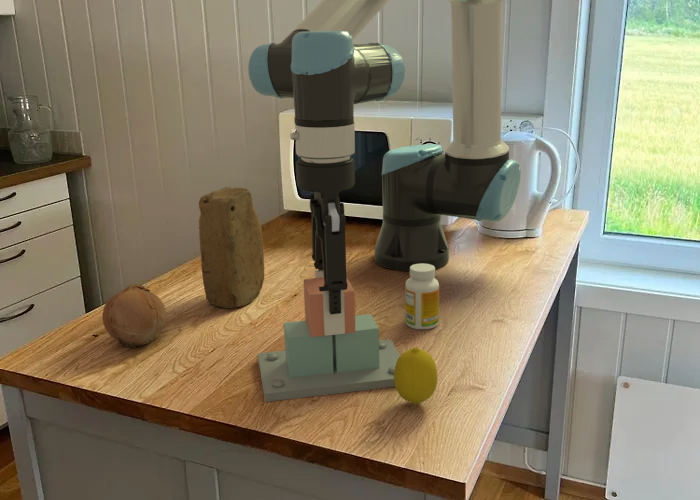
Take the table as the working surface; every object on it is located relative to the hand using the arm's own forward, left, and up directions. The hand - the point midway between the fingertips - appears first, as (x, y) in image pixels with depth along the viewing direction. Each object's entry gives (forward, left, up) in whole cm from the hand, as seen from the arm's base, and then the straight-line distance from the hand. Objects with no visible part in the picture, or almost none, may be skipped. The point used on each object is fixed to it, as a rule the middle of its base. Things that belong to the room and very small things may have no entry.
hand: (330, 323), depth 98 cm
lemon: (-9, +11, -8) cm, 16 cm away
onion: (+28, -17, -8) cm, 34 cm away
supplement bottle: (-17, -13, -8) cm, 23 cm away
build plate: (0, 0, -8) cm, 8 cm away
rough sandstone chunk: (+12, -31, -8) cm, 34 cm away
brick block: (0, 0, 0) cm, 0 cm away
